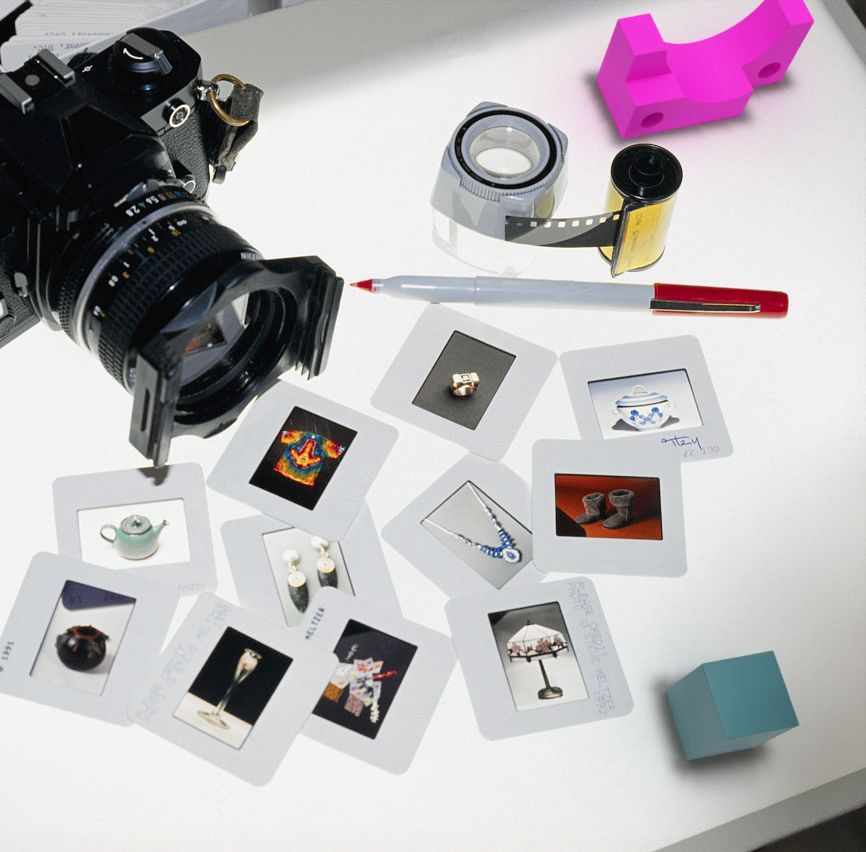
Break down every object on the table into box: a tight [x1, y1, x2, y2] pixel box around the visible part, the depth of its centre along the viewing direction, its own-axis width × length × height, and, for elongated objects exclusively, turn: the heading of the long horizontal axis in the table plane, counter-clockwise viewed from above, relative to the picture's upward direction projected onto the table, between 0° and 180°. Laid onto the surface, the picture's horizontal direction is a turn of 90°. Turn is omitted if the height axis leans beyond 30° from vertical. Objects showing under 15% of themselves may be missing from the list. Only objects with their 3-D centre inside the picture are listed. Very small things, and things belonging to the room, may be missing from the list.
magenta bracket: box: [595, 0, 815, 140], centre depth 98 cm, size 15×6×8 cm, turn 104°
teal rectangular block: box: [664, 650, 800, 761], centre depth 77 cm, size 5×5×8 cm
